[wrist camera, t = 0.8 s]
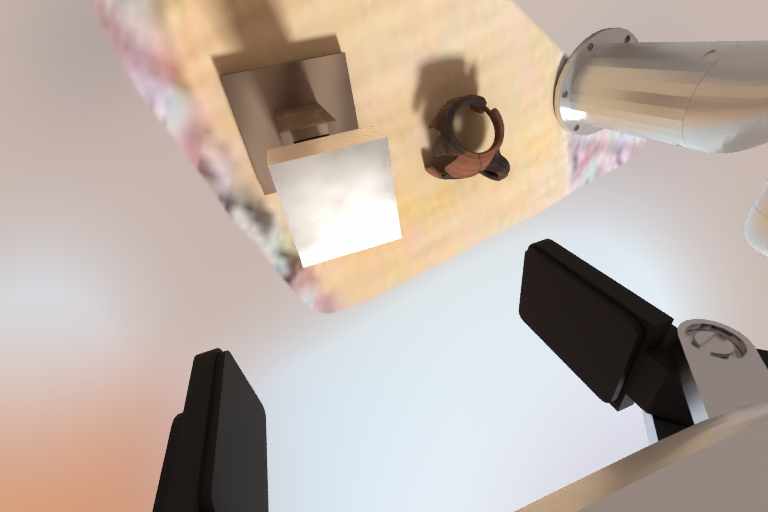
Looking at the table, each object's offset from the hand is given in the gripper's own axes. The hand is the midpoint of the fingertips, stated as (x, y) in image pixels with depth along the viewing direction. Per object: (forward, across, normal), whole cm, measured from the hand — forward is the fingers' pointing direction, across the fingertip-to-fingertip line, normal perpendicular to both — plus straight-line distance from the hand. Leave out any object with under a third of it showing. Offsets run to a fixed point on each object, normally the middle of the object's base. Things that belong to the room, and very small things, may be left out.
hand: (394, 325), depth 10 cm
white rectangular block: (+24, -1, 0) cm, 24 cm away
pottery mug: (+32, -19, +6) cm, 38 cm away
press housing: (+32, -1, 0) cm, 32 cm away
